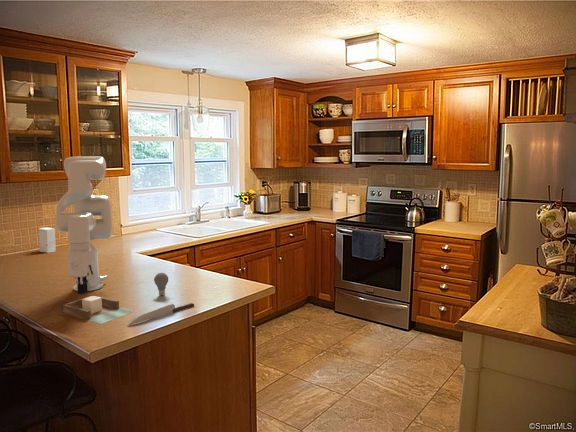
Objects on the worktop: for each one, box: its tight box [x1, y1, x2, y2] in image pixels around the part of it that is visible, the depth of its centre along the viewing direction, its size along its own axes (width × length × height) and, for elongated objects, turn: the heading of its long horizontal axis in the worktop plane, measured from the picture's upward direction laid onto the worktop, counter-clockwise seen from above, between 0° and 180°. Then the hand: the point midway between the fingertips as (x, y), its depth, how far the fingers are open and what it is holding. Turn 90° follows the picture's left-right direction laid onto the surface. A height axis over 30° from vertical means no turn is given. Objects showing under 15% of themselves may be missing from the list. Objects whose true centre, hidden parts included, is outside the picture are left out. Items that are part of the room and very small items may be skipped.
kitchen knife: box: [126, 302, 195, 328], centre depth 180 cm, size 4×1×30 cm
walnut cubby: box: [60, 295, 135, 325], centre depth 182 cm, size 16×23×4 cm
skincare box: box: [38, 227, 57, 254], centre depth 295 cm, size 8×6×15 cm
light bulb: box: [153, 272, 169, 296], centre depth 205 cm, size 6×6×10 cm
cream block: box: [81, 295, 102, 314], centre depth 183 cm, size 5×5×5 cm
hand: (82, 293), depth 184 cm, fingers closed
